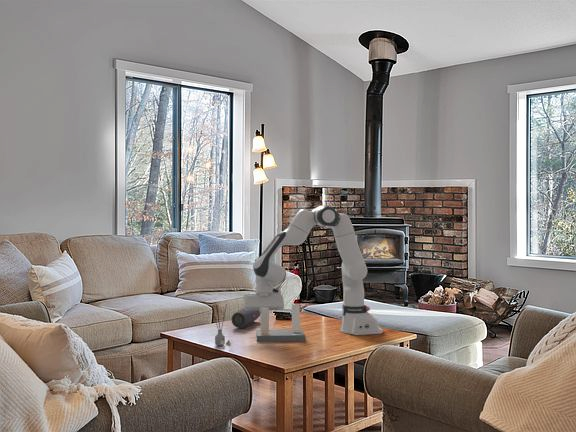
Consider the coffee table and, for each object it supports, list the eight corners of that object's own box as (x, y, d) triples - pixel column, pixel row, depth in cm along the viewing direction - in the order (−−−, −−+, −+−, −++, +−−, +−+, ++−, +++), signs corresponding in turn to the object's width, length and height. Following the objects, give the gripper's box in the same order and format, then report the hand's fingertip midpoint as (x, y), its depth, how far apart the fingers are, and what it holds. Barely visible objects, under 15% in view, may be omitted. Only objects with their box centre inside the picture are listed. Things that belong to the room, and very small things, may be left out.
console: (302, 335, 314) (302, 329, 314) (305, 341, 302) (305, 335, 302) (256, 336, 312) (256, 330, 312) (257, 341, 300) (257, 335, 300)
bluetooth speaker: (246, 330, 325) (246, 312, 324) (230, 329, 328) (230, 310, 327) (261, 322, 346) (261, 304, 346) (246, 320, 349) (246, 303, 349)
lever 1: (268, 330, 307) (269, 307, 302) (268, 332, 306) (269, 308, 300) (260, 330, 307) (261, 307, 302) (260, 332, 305) (261, 308, 300)
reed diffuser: (214, 348, 288) (214, 306, 287) (207, 345, 294) (207, 304, 293) (232, 344, 294) (232, 303, 294) (225, 342, 300) (225, 301, 299)
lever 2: (299, 331, 309) (299, 304, 313) (300, 330, 307) (299, 303, 312) (292, 331, 309) (291, 304, 313) (292, 330, 307) (291, 303, 311)
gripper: (243, 290, 310) (243, 313, 301) (283, 290, 312) (284, 313, 302) (243, 297, 315) (243, 320, 306) (283, 297, 316) (284, 319, 307)
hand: (264, 316), depth 304 cm, fingers closed, pressing on lever 1
